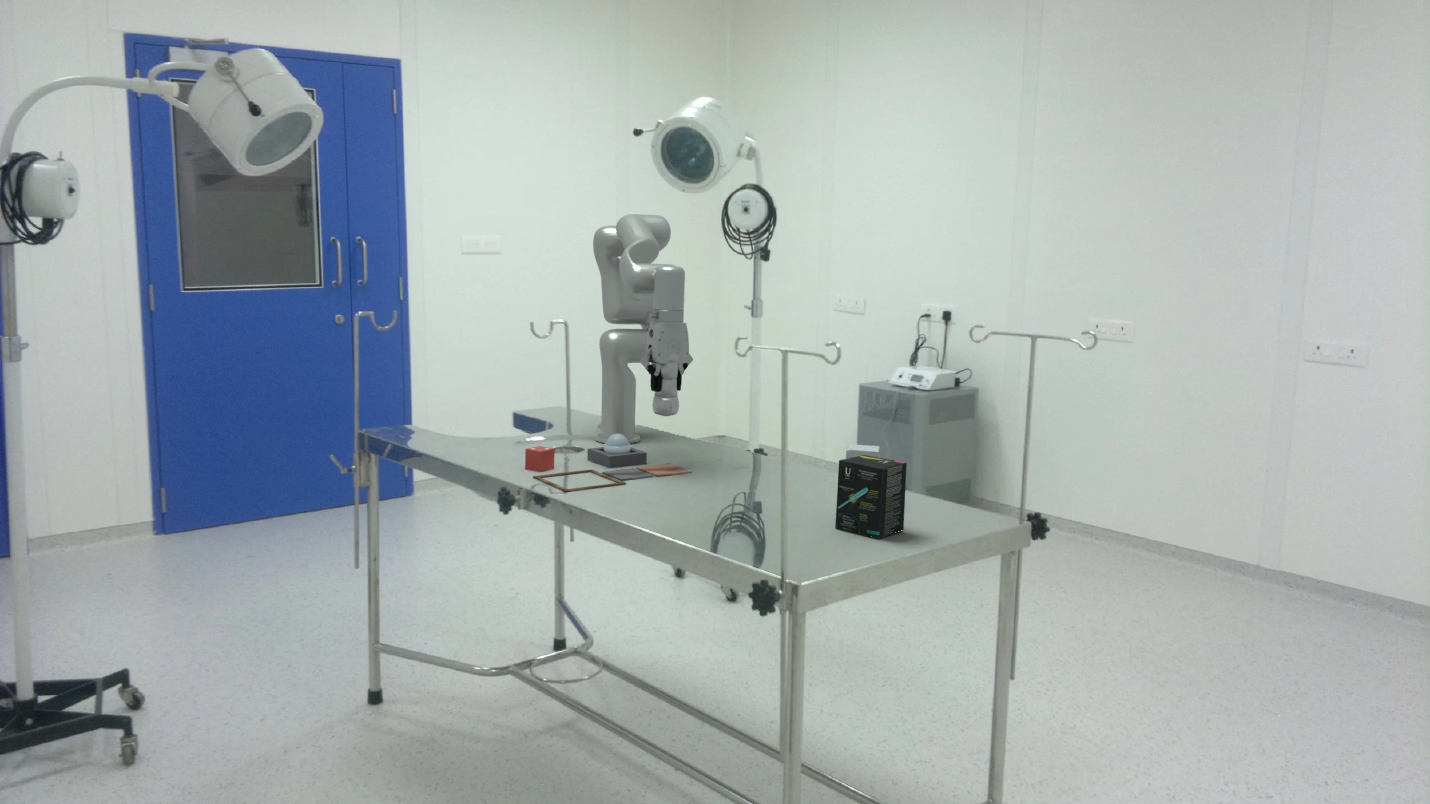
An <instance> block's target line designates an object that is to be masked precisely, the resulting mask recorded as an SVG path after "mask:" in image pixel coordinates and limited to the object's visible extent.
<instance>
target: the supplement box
mask: <svg viewBox="0 0 1430 804" xmlns="http://www.w3.org/2000/svg"><path fill="white" fill-rule="evenodd" d="M880 447H881V446H879V445H868V444H867V445H866V444H850V443H849V444H847V448H846V450H845V459H848V458H851V457H857V456H862V455H867V456H873V457H878V458H880V453H881V451H880V450H881V448H880Z"/></svg>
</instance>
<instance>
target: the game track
mask: <svg viewBox="0 0 1430 804" xmlns="http://www.w3.org/2000/svg"><path fill="white" fill-rule="evenodd" d="M586 473H591V474H594V475H596V476H599V477H601V478H604V479H607V480H609V481H611V482H613V483H606V484H604V483H603V484H598V485H597V484H596V485H590V486H582V487H581V486H580V487H573V488H565V487H563V486H561V485H559V484H556V483H554V482H552V481H551V480H550V481H549V480H548V479H545V478H553V477H562V476H569V475H577V474H586ZM691 473H692V470H689V469H686V468H684V467H681V466H678V465H676V464H672V463H669V462H668V463H661V464H654V465H653V464H651V465H643V466H636V467H635V468H634V467H631V468H623V469H622V468H621V469H615V470H607V471H602V472H599V471H597V470H594V469H592V468H591V469H585V470H584V469H583V470H576V471H565V472H559V473H549V474H541V475H533V476H532V479H535V480H536V481H539V482H540V483H543V484H546V485H548V486H550V487H553V488H555V489H557V490H559V491H562V492H564V493H570V492H579V491H586V490H594V489H601V488H609V487H614V486H615V487H616V486H617V487H618V486H625V485H627V482H625V481H633V480H638V479H639V480H640V479H648V478H654V477H657V478H659V477H667V476H668V477H670V476H675V475H676V476H677V475H684V474H691Z"/></svg>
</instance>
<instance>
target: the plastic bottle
mask: <svg viewBox="0 0 1430 804" xmlns="http://www.w3.org/2000/svg"><path fill="white" fill-rule="evenodd" d="M678 361H679V357H678V355H677V353H676V354H675V353H673V354H671V355H670V356H669V358H668V362H669V363H668V364H661V369H660V372H659V376H660V377H661V385H660V392H655V391H654V396H653V398H652V399H653V400H652V404H651V405H652V411H653V412H654V414H656V415H659V416H661V417H670V416H675V415H677V414H678V412H679V408H680V403H679V402H680V401H679V397H678V396H679V395H678V394H679V393H678V390H677V377H678V368H679V363H678ZM655 367H656V365H655Z"/></svg>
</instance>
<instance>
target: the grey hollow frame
mask: <svg viewBox="0 0 1430 804" xmlns="http://www.w3.org/2000/svg"><path fill="white" fill-rule="evenodd" d="M647 456H648V453H647V451H643V450H640V449H637V448H635V447H632V446H631V448H630V453H623V454H614V455H612V454H609V453H606V452H604V446H599V447H590V448H587V456H586V457H587V459H586V460H587V461H588V462H589V461H590V462H592V463H594V464H596V465H600V466H603V467H605V468H608V469H614V468H616V469H617V468H623V467H631V466H632V467H633V466H640V465H647V464H648V461H647V459H648V457H647Z"/></svg>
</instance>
